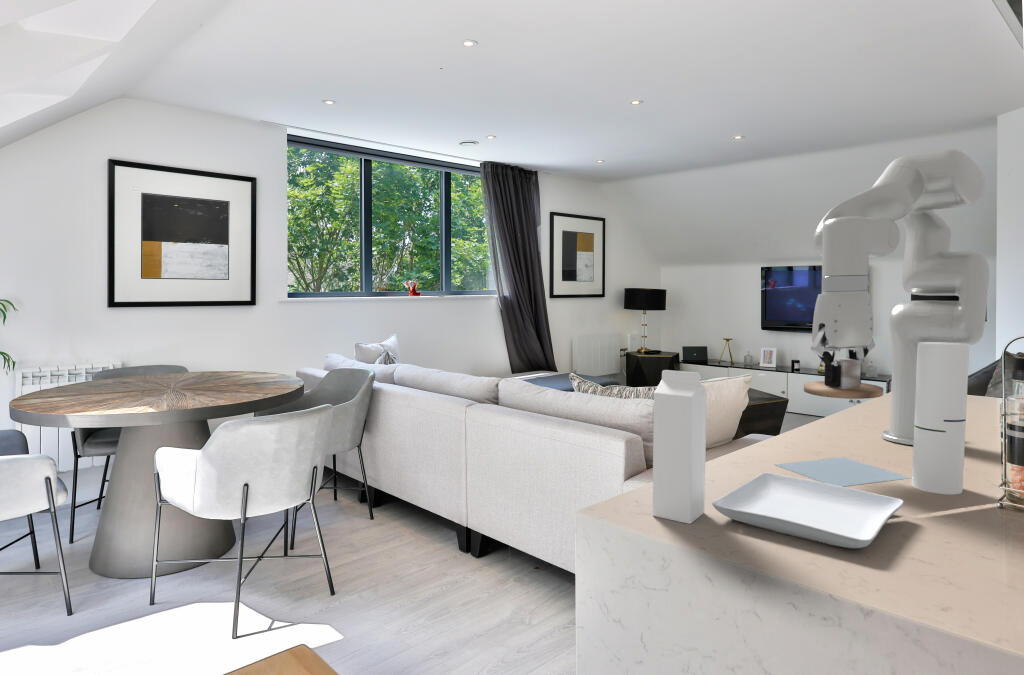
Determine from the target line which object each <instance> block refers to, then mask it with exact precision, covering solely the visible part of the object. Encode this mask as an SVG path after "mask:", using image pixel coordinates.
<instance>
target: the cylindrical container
mask: <svg viewBox="0 0 1024 675" xmlns="http://www.w3.org/2000/svg"><path fill="white" fill-rule="evenodd" d="M969 359H970V345H969V344H962V343H946V342H920V343H918V349H917V372H916V396H915V420H914V424H915V425H914V444H913V445H912V447H913V448H912V451H913V454H912V469H911V470H912V473H911V475H912V476H911V486H912V487H913V488H915V489H918V490H921V491H922V492H923V491H924V492H928V493H931V494H932V493H934V494H939V495H959V494H962V493H963V489H964V488H963V487H964V486H963V485H964V466H965V447H966V446H965V445H966V428H967V426H966V424H967V422H966V421H967V402H968V384H969V383H968V382H969V365H970V364H969V361H970V360H969Z"/></svg>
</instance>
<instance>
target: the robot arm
mask: <svg viewBox="0 0 1024 675" xmlns="http://www.w3.org/2000/svg"><path fill="white" fill-rule="evenodd" d="M985 191H986V177H985V175H984V172H983V170H982V169H981V167H980V166H979V165H978V164H977V163H976V162H975V161H974V160H973V159H972V158H971V157H970V156H969V155H968V154H966V153H965V152H963V151H961V150H958V149H954V148H945V149H938V150H931V151H926V152H924V151H923V152H916V153H910V154H906V155H902V156H899V157H898V158H896V159H893V161H892V162H890V164H888V165H887V167H886V168H885V169H884V171H883V172H882V174H881V175H880V176H879V178H878V179H877V180H876V182H875V183H874V184H873V185H872V187H871V188H870V187H869V189H866V190H863V191H861V192H859V193H857V194H855V195H854V196H851V197H849V198H847V199H845V200H844V201H841V202H840V203H838V204H836V205H835V206H833V207H832V208H831V209H829V211H828V212H827V213H826V214H825V215H824V216H823V218H822V219H820V222H819V223H818V225H817V226H816V229H815V232H814V235H813V242H812V243H813V248H814V250H815V252H816V254H817V255H818V256H819V257H821V258H822V259H821V293H819V294H818V295H817V297H816V301H815V305H814V311H813V320H812V334H811V341H812V344H811V346H810V350H811V352H813V353H814V354H816V355H817V356H818V358H820V360H821V363H822V365H824V381H825V385H826V386H831V387H836V388H838V387H840V386H841V366H839V365H838V363H839V358H841V351H842V349H845V350H846V356H847V357H846V359H854V360H861V365H863V364H864V363H865V358H866V356H867V355H869V352H871V351H872V350H873V349H874V348H875V347H876V342H875V341H874V339H873V332H874V331H873V328H874V326H873V324H874V322H873V320H874V319H873V307H872V301H871V295H870V292H869V286H870V282H871V281H870V280H869V274H870V273H869V268H870V259H874V258H875V259H876V258H882V257H886V256H889V255H891V254H892V253H893V252H894V251H895V250H896V249H897V248H898V246H899V243H900V241H901V240H900V238H901V233H900V229H899V227H898V225H897V223H896V221H898V220H901V223H902V225H903V228H904V231H905V232H904V233H905V245H904V252H903V253H904V255H903V261H902V262H903V264H902V274H901V285H902V288H903V290H904V291H905V292H906V293H908V294H911V295H918V296H956V297H958V300H908V301H902V302H899V303H898V304H896V305H895V306H893V307H892V309H891V310H890V312H889V315H888V325H889V332H890V339H891V347H892V349H891V350H892V354H891V356H892V357H891V358H892V360H891V361H892V362H891V385H890V411H889V412H890V413H889V415H890V416H889V429H886V430H883V431H882V432H881V438H882V439H883V440H886V441H889V442H892V443H896V444H901V445H908V446H909V445H910V446H913V444H914V425H915V424H914V420H915V396H916V372H917V349H918V343H920V342H946V343H962V344H969V346H972V345H973V346H974V345H976V344H977V343H979V342H980V341H981V339H983V338H982V337H983V334H984V331H985V327H986V326H985V324H986V319H987V317H986V316H987V307H988V306H987V305H988V296H989V286H990V285H989V284H990V265H989V262H988V260H987V258H986V257H985V255H983V253H980V252H978V251H971V250H970V251H969V250H966V251H965V250H964V251H963V250H961V251H959V250H958V251H951V242H952V240H951V239H952V230H951V228H950V226H949V225H948V224H947V222H946V221H945V220H944V219H943V218H942V217H941V216H940V215H939V214H938V213H937V212H936V211H934V210H943V209H954V208H955V209H956V208H966V207H971V206H974V205H976V204H978V203H979V202H980V201H981V200H982V198H983V196H984V195H985ZM831 352H832V354H831ZM861 383H862V371H861V372H860V385H861Z"/></svg>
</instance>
